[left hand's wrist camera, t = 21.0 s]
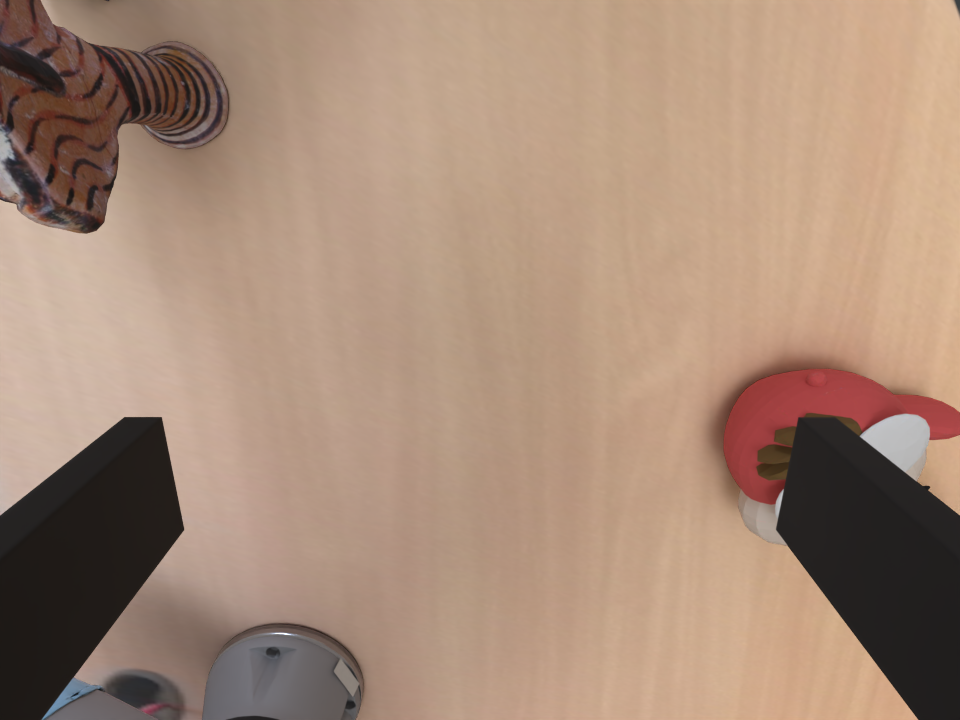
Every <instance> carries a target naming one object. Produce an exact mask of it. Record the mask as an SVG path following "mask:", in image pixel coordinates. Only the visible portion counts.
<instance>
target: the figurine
mask: <svg viewBox="0 0 960 720" xmlns="http://www.w3.org/2000/svg"><path fill="white" fill-rule="evenodd" d="M227 114H228V95H227V90H226V88H225V85H224V83H223V80H222V78H221V76H220V74H219V73H218V72H217V71H216V69H215V68H214V66H213V65H212V63H211V62H210V61H209V60H208V59H207V58H206V57H204V56H203V55H202V54H201V53H200V52H198V51H196V50H195V49H194V48H192V47H190V46H187V45H185V44H182V43H180V42H163V43H160V44H157V45H155V46H152V47H149V48H147V49H145V50H144V51H143V52H142V53H139V52H135V51H132V50H126V49H121V48H115V47H107V46H99V45H94V44H90V43H87V42H86V41H84V40H82V39H81V38H79V37H77V36H75V35H74V34H72V33H71V32H69V31H68V30H66V29H65V28H63V27H57V26H55V25H54V24H52V22H51V20H50V18H49V16H48V14H47V12H46V10H45V9H44V7H43V5H42V3H41V0H0V200H3V201H5V202H10V203H15V204H17V209H18V210H19V211H20V212H21V213H22V214H23V215H24V216H26V217H27V218H29V219H30V220H32V221H34V222H36V223H39V224H42V225H45V226H48V227H54V228H59V229H64V230H68V231H72V232H76V233H90V232H94V231H97V229H98V228H99V227H100V226H101V225H102V224H103V223H104V221H105V215H106V209H107V202H108V199H109V196H110V194H111V190H112V188H113V185H114V180H115V178H116V175H117V169H118V155H119V145H118V139H117V135H118V130H119V128H120V126H121V125H122V124H126V123H137V124H141V126H142V127H143V128H144V129H145V130H146V131H147V132H148V133H149V134H150V135H151V136H152V137H153V138H155V139H156V140H157V141H159V142H161V143H163V144H166V145H169V146H172V147H175V148H181V149H188V148H194V147H197V146H201V145H203V144H205V143H206V142H208V141H210V140H212V139H213V138H214V137H215V136H216V135H217V134H219V133H220V132H221V130H222V129H223V127H224V125H225V123H226V119H227Z"/></svg>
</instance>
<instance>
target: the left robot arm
mask: <svg viewBox="0 0 960 720" xmlns="http://www.w3.org/2000/svg"><path fill="white" fill-rule="evenodd" d="M183 531H184V526H183V521H182V516H181V511H180V506H179V501H178V496H177V491H176V486H175V481H174V476H173V471H172V466H171V461H170V456H169V451H168V446H167V441H166V436H165V431H164V426H163V421H162V417H124V418H123V419H122V420H120V421H119V422H118V423H117V424H115V425H114V426H113V427H112V428H110V429H109V430H108V431H106V432H105V433H104V434H103V435H101V436H100V437H99V438H98V439H96V440H95V441H94V442H93V443H91V444H90V445H89V446H88V447H86V448H85V449H84V450H83V451H81V452H80V453H79V454H77V455H76V456H75V457H74V458H72V459H71V460H70V461H69V462H67V463H66V464H65V465H64V466H62V467H61V468H60V469H59V470H57V471H56V472H55V473H53V474H52V475H51V476H50V477H48V478H47V479H46V480H45V481H43V482H42V483H41V484H40V485H38V486H37V487H36V488H35V489H33V490H32V491H31V492H29V493H28V494H27V495H26V496H24V497H23V498H22V499H21V500H19V501H18V502H17V503H16V504H14V505H13V506H12V507H11V508H9V509H8V510H7V511H5V512H4V513H3V514H2V515H0V720H158V719H156V718H154V717H152V716H150V715H148V714H146V713H144V712H142V711H141V710H139V709H137V708H135V707H133V706H131V705H129V704H127V703H125V702H123V701H121V700H119V699H117V698H115V697H113V696H111V695H109V694H107V693H105V688H103V687H102V686H99V685H89V684H87V683H85V682H83V681H80V680H78V679H76V678H74V676H75V675H76V673H77V672H78V671H79V669H80V668H81V667H82V665H83V664H84V663H85V661H86V660H87V659H88V657H89V656H90V655H91V653H92V652H93V651H94V649H95V648H96V647H97V645H98V644H99V643H100V641H101V640H102V639H103V637H104V636H105V635H106V633H107V632H108V631H109V629H110V628H111V627H112V625H113V624H114V623H115V621H116V620H117V619H118V617H119V616H120V615H121V613H122V612H123V611H124V609H125V608H126V607H127V605H128V604H129V603H130V601H131V600H132V599H133V597H134V596H135V595H136V593H137V592H138V591H139V589H140V588H141V587H142V585H143V584H144V583H145V581H146V580H147V579H148V577H149V576H150V575H151V573H152V572H153V571H154V569H155V568H156V567H157V565H158V564H159V563H160V561H161V560H162V559H163V557H164V556H165V555H166V553H167V552H168V551H169V549H170V548H171V547H172V545H173V544H174V543H175V541H176V540H177V539H178V537H179V536H180V535H181V533H182V532H183ZM776 531H777V532H778V533H779V535H780V536H781V537H782V539H783V540H784V541H785V543H786V544H787V545H788V547H789V548H790V549H791V551H792V552H793V553H794V555H795V556H796V557H797V559H798V560H799V561H800V563H801V564H802V565H803V567H804V568H805V569H806V571H807V572H808V573H809V575H810V576H811V577H812V579H813V580H814V581H815V583H816V584H817V585H818V587H819V588H820V589H821V591H822V592H823V593H824V595H825V596H826V597H827V599H828V600H829V601H830V603H831V604H832V605H833V607H834V608H835V609H836V611H837V612H838V613H839V615H840V616H841V617H842V619H843V620H844V621H845V623H846V624H847V625H848V627H849V628H850V629H851V631H852V632H853V633H854V635H855V636H856V637H857V639H858V640H859V641H860V643H861V644H862V645H863V647H864V648H865V649H866V651H867V652H868V653H869V655H870V656H871V657H872V659H873V660H874V661H875V663H876V664H877V665H878V667H879V668H880V669H881V671H882V672H883V673H884V675H885V676H886V677H887V679H888V680H889V681H890V683H891V684H892V685H893V687H894V688H895V689H896V691H897V692H898V693H899V695H900V696H901V697H902V699H903V700H904V701H905V703H906V704H907V705H908V707H909V708H910V709H911V711H912V712H913V713H914V715H915V716H916V717H917V719H918V720H960V515H958V514H957V513H956V512H955V511H953V510H952V509H951V508H949V507H948V506H947V505H946V504H944V503H943V502H942V501H941V500H939V499H938V498H937V497H936V496H934V495H933V494H932V493H931V492H929V491H928V490H927V489H925V488H924V487H923V486H922V485H920V484H919V483H918V482H917V481H915V480H914V479H913V478H912V477H910V476H909V475H908V474H907V473H905V472H904V471H903V470H901V469H900V468H899V467H898V466H896V465H895V464H894V463H893V462H891V461H890V460H889V459H888V458H886V457H885V456H884V455H883V454H881V453H880V452H879V451H877V450H876V449H875V448H874V447H872V446H871V445H870V444H869V443H867V442H866V441H865V440H864V439H862V438H861V437H860V436H859V435H857V434H856V433H855V432H854V431H852V430H851V429H850V428H848V427H847V426H846V425H845V424H843V423H842V422H841V421H840V420H838V419H837V418H836V417H798V421H797V426H796V431H795V436H794V441H793V446H792V451H791V456H790V461H789V466H788V471H787V476H786V481H785V486H784V491H783V496H782V501H781V506H780V511H779V516H778V521H777V526H776ZM362 696H363V678H362V674H361V671H360V669H359V666H358V665H357V663H356V661H355V660H354V658H353V657H352V656H351V654H350V653H349V652H348V651H347V650H346V649H345V648H344V647H343V646H341V645H340V644H339V643H338V642H336V641H335V640H333V639H332V638H330V637H328V636H326V635H324V634H322V633H320V632H317V631H315V630H312V629H308V628H305V627H300V626H295V625H283V624H277V625H266V626H260V627H256V628H253V629H250V630H247V631H245V632H243V633H241V634H239V635H237V636H236V637H234V638H233V639H231V640H230V641H229V642H228V643H227V644H226V645H225V646H224V647H223V648H222V650H221V651H220V653H219V654H218V656H217V658H216V660H215V662H214V664H213V666H212V668H211V670H210V673H209V676H208V680H207V684H206V690H205V699H204V707H203V716H202V720H356V718H357V716H358V713H359V710H360V705H361V701H362Z"/></svg>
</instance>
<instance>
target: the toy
mask: <svg viewBox="0 0 960 720" xmlns="http://www.w3.org/2000/svg"><path fill="white" fill-rule="evenodd" d="M798 417H836V418H837V419H838V420H840V421H841V422H842V423H843V424H845V425H846V426H847V427H848V428H850V429H851V430H852V431H854V432H855V433H856V434H857V435H859V436H860V437H861V438H862V439H864V440H865V441H866V442H867V443H869V444H870V445H871V446H872V447H874V448H875V449H876V450H877V451H879V452H880V453H881V454H883V455H884V456H885V457H886V458H888V459H889V460H890V461H891V462H893V463H894V464H895V465H896V466H898V467H899V468H900V469H901V470H903V471H904V472H905V473H907V474H908V475H909V476H910V477H912V478H913V479H914V480H915V481H917V480H918V478H919V476H920V474H921V472H922V470H923V468H924V466H925V462H926V447H927V446H928V442H929V440H939V439H949V438H952V437H955V436H958V435H960V412H958V411H957V410H956V409H955V408H953V407H951V406H949V405H947V404H946V403H944V402H941V401H938V400H935V399H932V398H928V397H923V396H918V395H894V394H892V393H891V392H890V391H889V390H887V389H886V388H885V387H883V386H882V385H880V384H878V383H876V382H875V381H873V380H871V379H868V378H866V377H863V376H860V375H857V374H854V373H852V372H846V371H840V370H833V369H806V370H799V371H790V372H786V373H781V374H775V375H772V376H769V377H766V378H763V379H761V380H758V381H757V382H755V383H754V384H752V385H751V386H749V387H748V388H746V390H745V391H744V392H743V393H742V394H741V395H740V397H739V398H738V400H737V401H736V403H735V405H734V407H733V408H732V411H731V413H730V415H729V418H728V421H727V424H726V428H725V433H724V454H725V458H726V462H727V465H728V468H729V470H730V472H731V474H732V477H733V478H734V480H735V481H736V483H737V484H738V485H739V487H740V493H739V498H738V508H739V511H740V513H741V516H742V518H743V521H744V523H745V526H746V527H747V528H748V529H749V530H750V531H751V532H753V533H754V534H756V535H757V536H759V537H761V538H762V539H764V540H766V541H767V542H770V543H774V544H780V545H787V544H786V543H785V541H784V540H783V539H782V537H781V536H780V535H779V533H778V532H777V531H776V526H777V521H778V516H779V511H780V506H781V501H782V496H783V491H784V486H785V481H786V476H787V471H788V466H789V461H790V456H791V451H792V446H793V441H794V436H795V431H796V426H797V421H798ZM923 487H924V488H925V489H927V490H928V489H929V488H930V486H923ZM787 546H788V545H787Z"/></svg>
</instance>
